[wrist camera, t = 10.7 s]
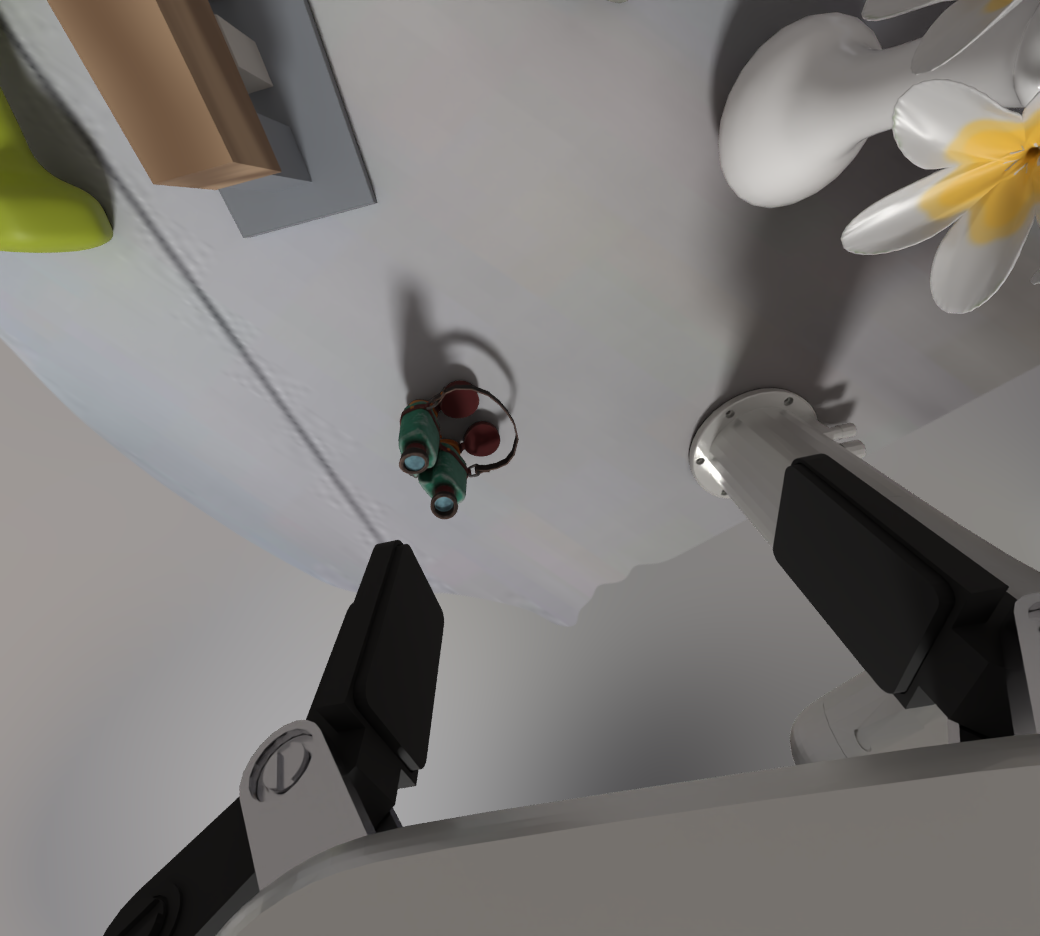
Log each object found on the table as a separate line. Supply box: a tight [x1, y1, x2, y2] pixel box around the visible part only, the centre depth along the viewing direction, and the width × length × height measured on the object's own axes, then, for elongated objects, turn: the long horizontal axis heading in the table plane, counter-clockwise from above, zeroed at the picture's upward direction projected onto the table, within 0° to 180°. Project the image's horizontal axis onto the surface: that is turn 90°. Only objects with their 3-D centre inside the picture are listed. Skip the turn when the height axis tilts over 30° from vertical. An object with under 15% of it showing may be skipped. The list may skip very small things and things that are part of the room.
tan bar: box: [47, 0, 282, 190], centre depth 18 cm, size 4×12×5 cm, turn 12°
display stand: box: [208, 0, 377, 238], centre depth 23 cm, size 10×16×7 cm, turn 13°
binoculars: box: [399, 380, 519, 519], centre depth 35 cm, size 9×11×10 cm
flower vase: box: [718, 0, 1040, 314], centre depth 17 cm, size 13×18×25 cm
